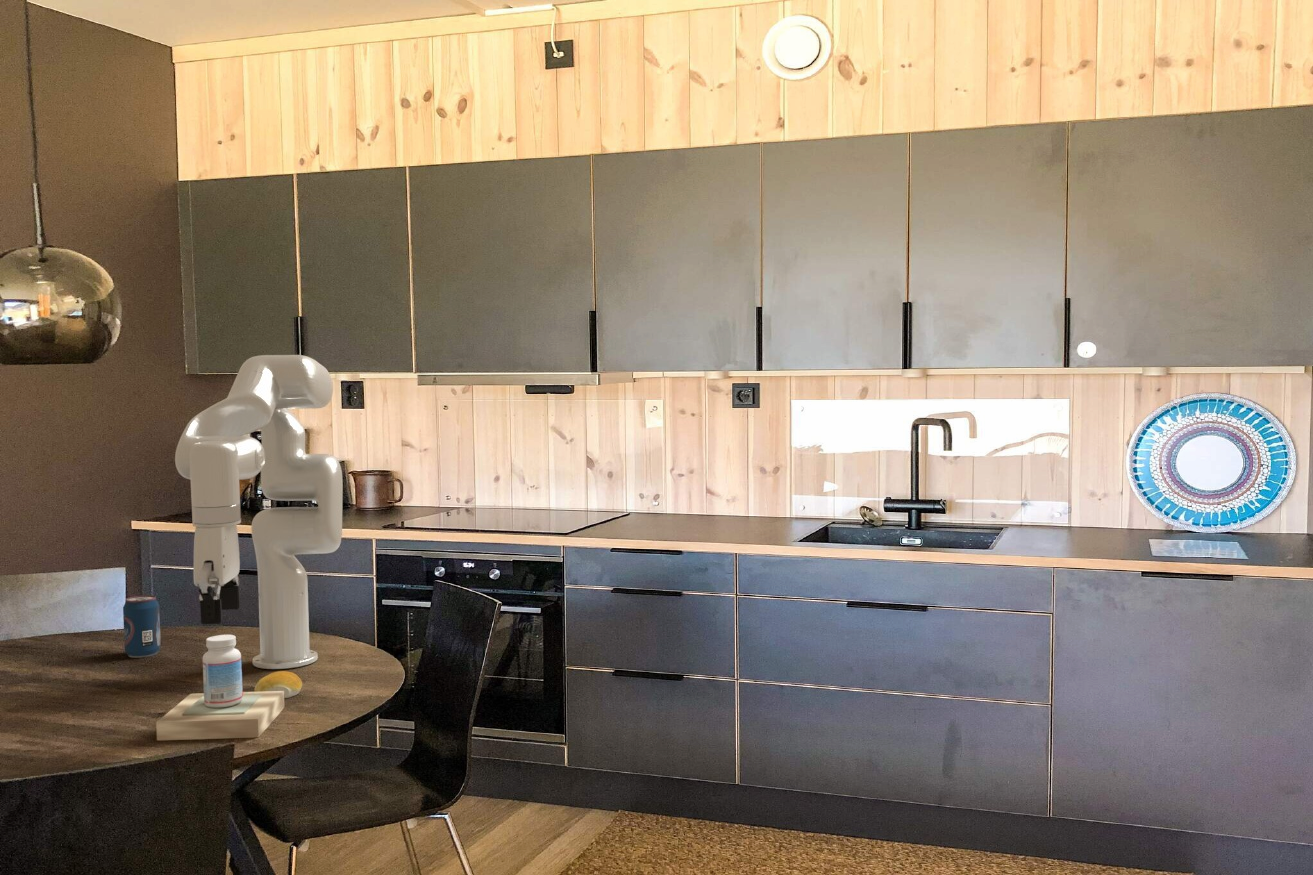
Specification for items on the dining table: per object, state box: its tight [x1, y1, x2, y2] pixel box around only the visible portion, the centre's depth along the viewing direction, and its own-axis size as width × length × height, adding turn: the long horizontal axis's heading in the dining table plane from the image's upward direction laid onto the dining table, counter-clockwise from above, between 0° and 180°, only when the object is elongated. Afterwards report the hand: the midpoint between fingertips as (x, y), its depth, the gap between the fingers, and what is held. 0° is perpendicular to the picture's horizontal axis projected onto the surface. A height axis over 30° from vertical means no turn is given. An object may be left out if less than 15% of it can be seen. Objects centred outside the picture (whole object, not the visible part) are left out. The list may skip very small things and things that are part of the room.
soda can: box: [122, 594, 162, 659], centre depth 236 cm, size 7×7×12 cm
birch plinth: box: [155, 691, 285, 741], centre depth 189 cm, size 16×16×3 cm
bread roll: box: [253, 670, 303, 699], centre depth 207 cm, size 8×9×4 cm
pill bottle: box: [202, 634, 244, 708], centre depth 189 cm, size 6×6×11 cm
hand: (221, 616), depth 188 cm, fingers open, 9 cm apart
